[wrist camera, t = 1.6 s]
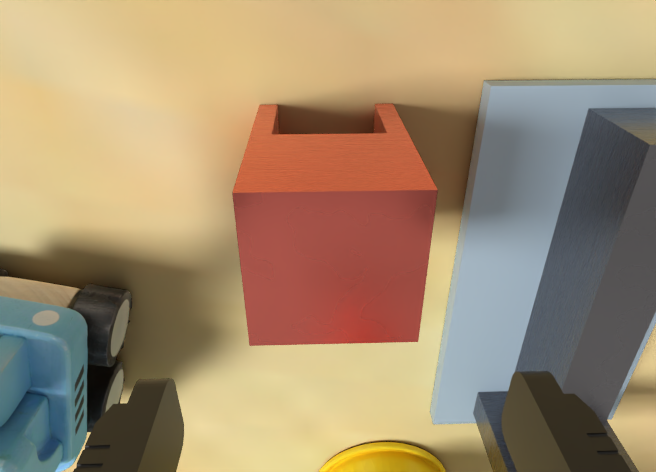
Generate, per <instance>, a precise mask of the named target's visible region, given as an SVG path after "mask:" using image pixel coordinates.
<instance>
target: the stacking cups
mask: <svg viewBox="0 0 656 472" xmlns="http://www.w3.org/2000/svg"><path fill="white" fill-rule="evenodd" d="M319 472H446V470H445V468H444V467H443V465H442V464H441V462H440V461H439V460H438V459H437V458H436V457H434V456H433V455H432V454H430V453H429V452H427V451H425V450H423V449H420V448H418V447H415V446H412V445H408V444H404V443H395V442H377V443H369V444H364V445H360V446H356V447H353V448H350V449H348V450H345V451H343V452H341V453H339V454H337V455H336V456H334V457H333V458H332V459H330V460H329V461H328V462H326V463H325V464H324V466H323V467H322V468H321V469H320V470H319Z"/></svg>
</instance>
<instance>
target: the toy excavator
mask: <svg viewBox="0 0 656 472" xmlns="http://www.w3.org/2000/svg"><path fill="white" fill-rule="evenodd" d="M131 300H132V298H131V293H129V291H127V290H121V289H115V288H109V287H103V286H98V285H94V284H89V285H87V286H85V288H84V289H83V290H82V289H79V288H74V287H69V286H63V285H57V284H51V283H45V282H39V281H33V280H27V279H20V278H13V277H8V273H7V271H5V270H3V269H1V268H0V472H61V471H63V470H66V469H67V468H69V467H70V466H72V465H73V463H74V462H75V460H76V458H77V456H78V455H79V453H80V451H81V448H82V446H83V444H84V442H85V439H86V435H87V432H92V430H93V427H94V425H95V423H96V422H97V421H98V420H99V419H100V418H101V417H102V416H103V414H104V413H105V412H106V411H107V410H108V409H109V408H110V407H111V406H112V405H113V404H120V399H121V394H122V391H123V384H124V381H125V380H124V372H123V368H122V364H123V363H122V361H117V360H116V357H117V355H118V352H119V351H120V349H121V348H123V345H124V339H125V335H126V329H127V324H128V323H129V322H130V321H129V320H128V318H129V308H130V309H131V308H132V301H131Z"/></svg>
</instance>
